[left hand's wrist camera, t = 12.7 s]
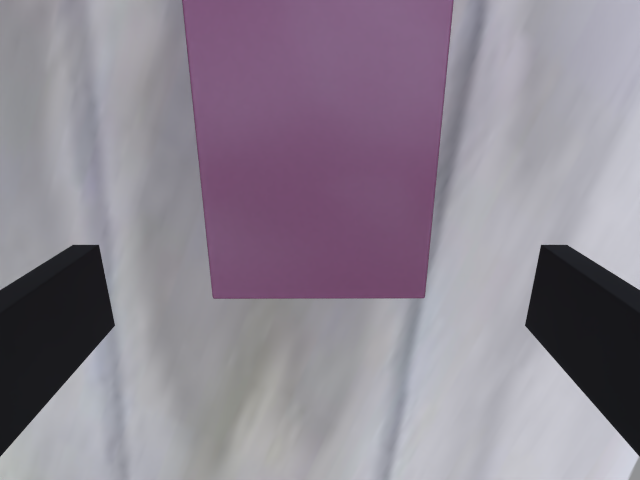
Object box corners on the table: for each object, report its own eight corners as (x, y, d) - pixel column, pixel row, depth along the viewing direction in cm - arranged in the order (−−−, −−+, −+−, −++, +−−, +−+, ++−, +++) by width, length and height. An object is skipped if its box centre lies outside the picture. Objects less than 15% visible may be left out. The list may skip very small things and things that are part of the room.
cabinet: (226, -122, 23) (151, -296, 13) (410, -123, 23) (483, -297, 13) (249, 228, 31) (212, 299, 20) (389, 228, 31) (425, 298, 20)
